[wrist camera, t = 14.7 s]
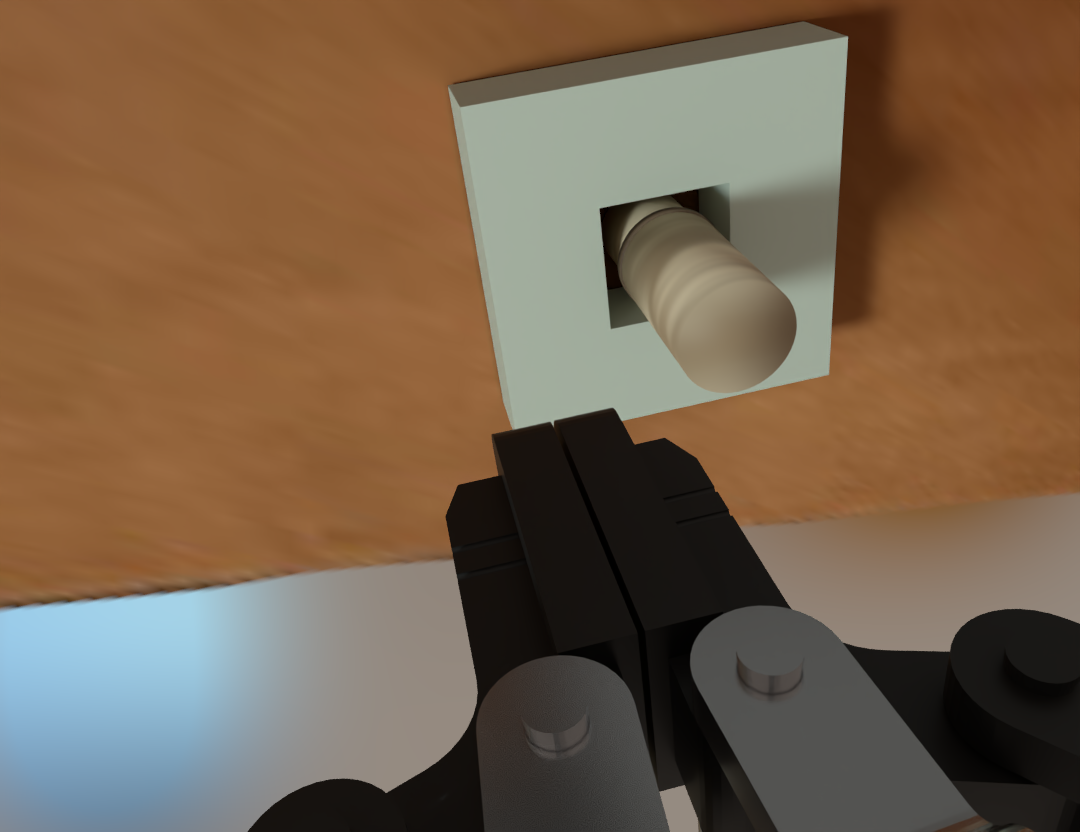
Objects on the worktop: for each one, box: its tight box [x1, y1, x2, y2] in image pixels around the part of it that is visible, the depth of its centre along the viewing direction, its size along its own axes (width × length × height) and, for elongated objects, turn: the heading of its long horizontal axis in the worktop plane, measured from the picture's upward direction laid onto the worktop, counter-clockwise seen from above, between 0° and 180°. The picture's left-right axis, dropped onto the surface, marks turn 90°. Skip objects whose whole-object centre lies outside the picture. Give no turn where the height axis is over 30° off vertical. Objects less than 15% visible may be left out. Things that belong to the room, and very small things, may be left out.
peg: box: [602, 194, 797, 393], centre depth 38 cm, size 5×5×12 cm
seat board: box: [448, 21, 848, 430], centre depth 42 cm, size 16×16×4 cm
